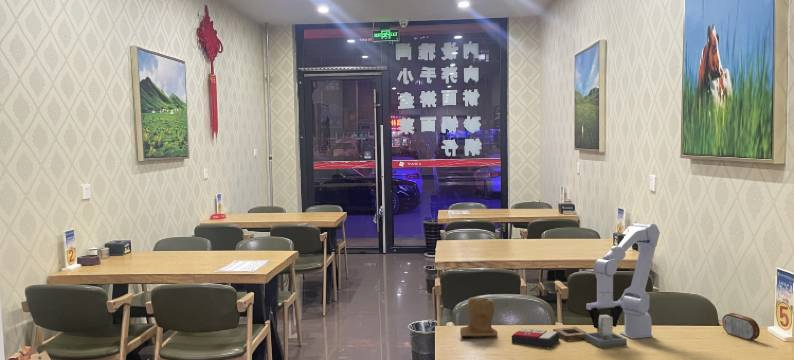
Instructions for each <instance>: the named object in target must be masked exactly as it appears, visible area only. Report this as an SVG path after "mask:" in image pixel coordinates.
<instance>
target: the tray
mask: <svg viewBox="0 0 794 360" xmlns="http://www.w3.org/2000/svg"><path fill="white" fill-rule="evenodd" d="M584 339H585V340H586V342H587V341H588V343H589V344H592V345H593V346H594V347H597V348H599V349H607V348H608V349H609V348H617V347H625V346H628V343H627V338H626V337H624V336H622V335H619V334H617V333H615V332H613V339H612V340H599V339H597V331H596V332H587V333H584ZM584 339H583V340H584ZM585 340H584V341H585Z"/></svg>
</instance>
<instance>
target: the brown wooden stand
mask: <svg viewBox="0 0 794 360" xmlns="http://www.w3.org/2000/svg"><path fill="white" fill-rule="evenodd" d="M467 312H468V317H469V324H468V325H467V326H463V327H461V328H460V330H459V333H460V337H464V338H475V337H476V338H479V337H494V336H497V335H498V334H499V333H498V331H497V330H496V329H495V328H493V327H492V321H493V318H494V313H495V302H494V300H493V299H491V298H486V297H469V299H468V302H467Z"/></svg>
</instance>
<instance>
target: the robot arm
mask: <svg viewBox="0 0 794 360" xmlns="http://www.w3.org/2000/svg"><path fill="white" fill-rule="evenodd" d="M660 235H661V233H660V230H659V228H658V225H657V224H655V223H642V222H637V221H633V222H632V223H631V224H630V225H629V226H628V227H627V232H626V234H625V236H624V237H623V238H622V239H621V241H620V242H619V244H617V245H614V246H613V245H612V246H611V247H610V249H609V250H608V252H606V254H604V256H603V257H602V258H598V259H597V260H595V262H594V263H593V264H594V265H593V267H592V268H593V271H594V273H595V278H596V301H594V302H590V303H589V302H588V303H585V304H586V307H585V309H586V310H587V312H588V313H589V316H590V318H591V323H592V325H593V328H594V329H596V330H597V329H598V327H599V315H601V311H599V310H598V309H608V308H609V311H610V316H611V317H613V327H614V328H617V325H618V322H619V319H620V317H621V315H622V313H624V331H620V332H619V334H621V336H622V335H623V336H625V337H627V338H630V339H632V340H633V339H644V338H652V337H653V338H654V335H653V334H652V333H653V332H652V327H653V325H652V317H651V315H650V313H649V312H648V311H649V310H650V299H651V296H650V295H649V293H648V292H647V291H646V288H647V284H648V279H649V276H650V272H651V267H652V263H653V260H654V256H655V251H656V248H657V246H658V241H659V238H660ZM634 244H636V245H638V247H639V252H638V257H637V261H636V264H635V269H634V272H633V276H632V280H631V284H630V286H628V287H627V288H625V289H624V291H623V293H622V295H621V297H620V299H619V300H614V275H615V274H616V273H617V270H618V267H619V264H620V263H621V262H622V261H623V260H624V258H626V256H627V255H626V254H627V253H626V252H627V251H628V250H629V249H630V248H631V247H633V245H634Z"/></svg>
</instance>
